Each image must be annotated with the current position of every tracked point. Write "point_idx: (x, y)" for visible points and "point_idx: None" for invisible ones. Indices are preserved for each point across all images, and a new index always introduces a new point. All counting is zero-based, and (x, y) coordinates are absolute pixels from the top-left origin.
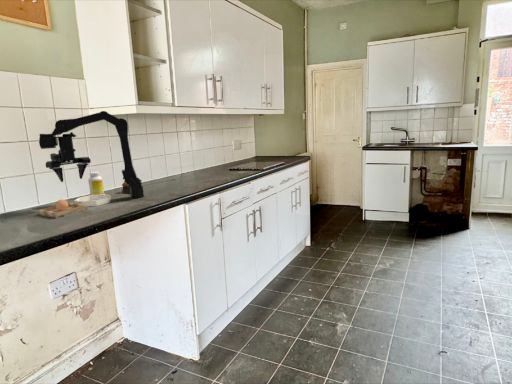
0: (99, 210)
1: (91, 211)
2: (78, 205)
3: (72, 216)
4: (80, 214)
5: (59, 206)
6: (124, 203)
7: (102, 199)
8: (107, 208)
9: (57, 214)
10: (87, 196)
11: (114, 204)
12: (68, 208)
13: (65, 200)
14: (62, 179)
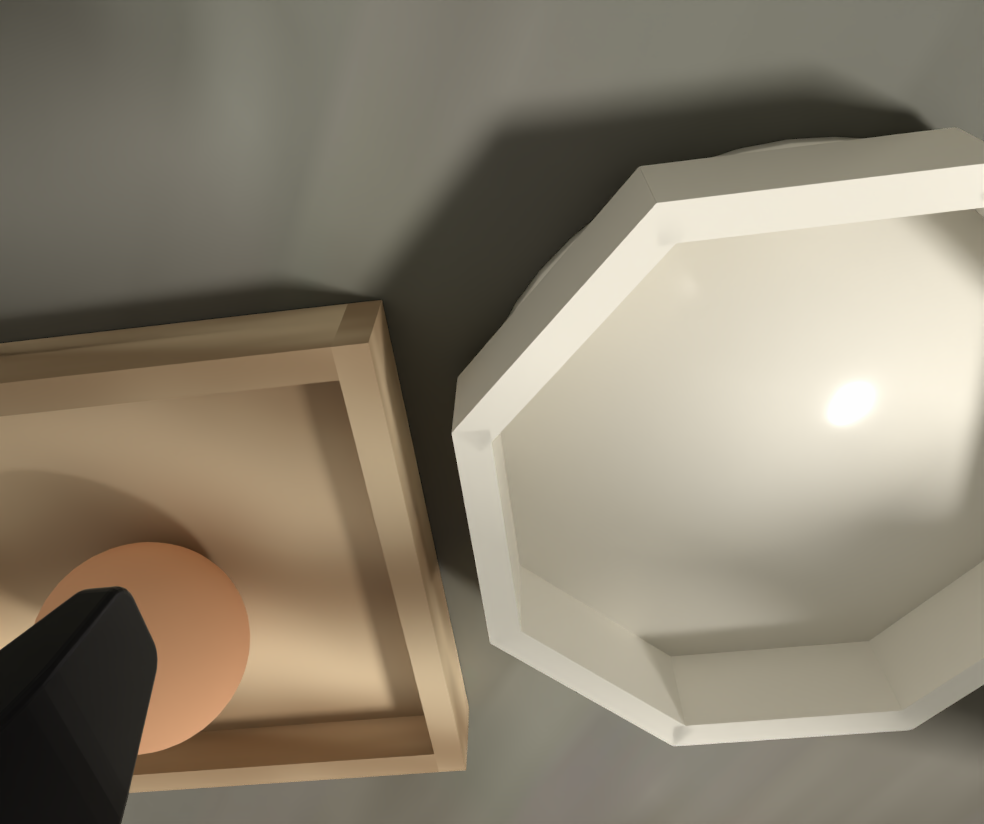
0: (556, 816)
1: (473, 787)
2: (409, 644)
3: (226, 803)
4: (324, 800)
5: None
6: (964, 779)
7: (793, 730)
8: (668, 813)
9: None
10: (908, 210)
11: None
12: (284, 518)
13: (181, 733)
14: (91, 802)
